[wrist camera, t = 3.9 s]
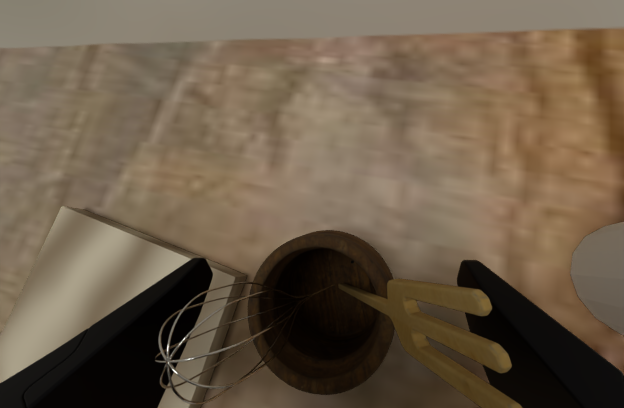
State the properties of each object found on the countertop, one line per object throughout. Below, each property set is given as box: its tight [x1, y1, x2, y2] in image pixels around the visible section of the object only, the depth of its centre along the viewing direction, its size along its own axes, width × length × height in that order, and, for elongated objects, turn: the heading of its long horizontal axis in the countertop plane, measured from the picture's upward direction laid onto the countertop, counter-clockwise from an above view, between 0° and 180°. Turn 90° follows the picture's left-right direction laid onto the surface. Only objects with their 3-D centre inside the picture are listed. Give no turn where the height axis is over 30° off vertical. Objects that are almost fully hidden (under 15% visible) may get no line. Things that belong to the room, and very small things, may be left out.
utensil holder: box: [153, 230, 522, 408], centre depth 9 cm, size 6×6×12 cm
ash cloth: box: [0, 206, 247, 408], centre depth 16 cm, size 16×14×2 cm
